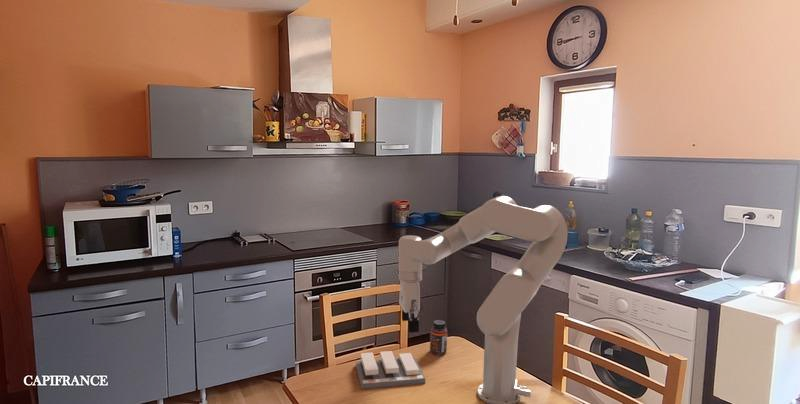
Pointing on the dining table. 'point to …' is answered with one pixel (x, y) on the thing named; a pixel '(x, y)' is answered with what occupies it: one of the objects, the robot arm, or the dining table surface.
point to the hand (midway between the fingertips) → (410, 325)
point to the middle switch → (389, 362)
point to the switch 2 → (408, 364)
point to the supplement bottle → (438, 338)
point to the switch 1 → (369, 363)
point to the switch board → (388, 376)
